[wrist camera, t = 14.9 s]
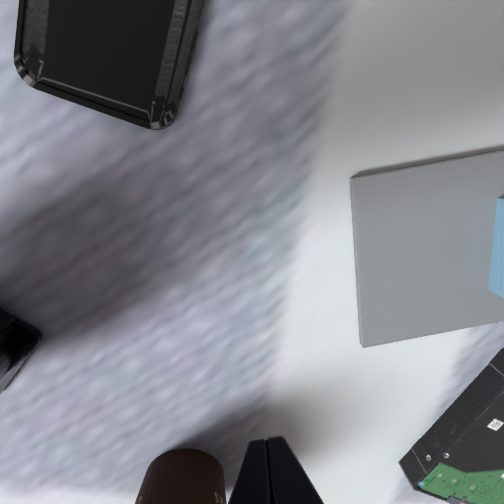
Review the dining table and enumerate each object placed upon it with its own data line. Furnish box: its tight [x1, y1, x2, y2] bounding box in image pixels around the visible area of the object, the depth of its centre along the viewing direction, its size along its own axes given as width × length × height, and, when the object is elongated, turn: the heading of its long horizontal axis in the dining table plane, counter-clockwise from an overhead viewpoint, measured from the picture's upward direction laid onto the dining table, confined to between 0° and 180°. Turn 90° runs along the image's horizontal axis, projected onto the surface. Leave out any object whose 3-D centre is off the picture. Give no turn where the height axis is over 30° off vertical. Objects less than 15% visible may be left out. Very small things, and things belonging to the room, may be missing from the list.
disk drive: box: [399, 348, 504, 504], centre depth 26 cm, size 10×3×15 cm
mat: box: [350, 150, 504, 348], centre depth 20 cm, size 20×12×1 cm, turn 100°
